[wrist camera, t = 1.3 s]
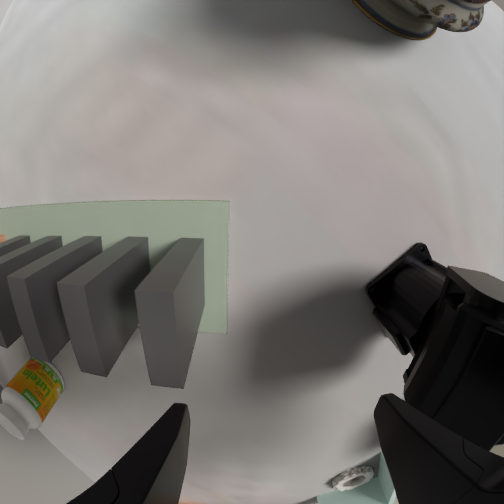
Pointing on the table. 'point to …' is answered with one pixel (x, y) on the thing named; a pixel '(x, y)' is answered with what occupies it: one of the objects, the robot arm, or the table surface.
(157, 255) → the rack
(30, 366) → the supplement bottle
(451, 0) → the apothecary jar
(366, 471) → the right angle wall
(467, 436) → the robot arm
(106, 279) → the domino
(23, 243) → the domino
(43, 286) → the domino
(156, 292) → the domino
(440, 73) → the table surface
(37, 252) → the domino
